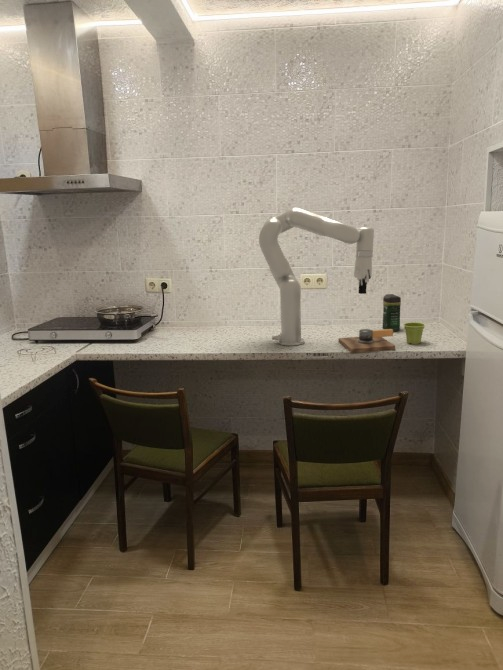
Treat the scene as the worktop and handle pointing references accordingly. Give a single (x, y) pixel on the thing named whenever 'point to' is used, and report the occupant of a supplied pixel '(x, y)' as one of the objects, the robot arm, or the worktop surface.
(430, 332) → the worktop surface
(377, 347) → the wooden cutting board
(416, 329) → the plant pot
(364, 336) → the portafilter
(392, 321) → the coffee jar
